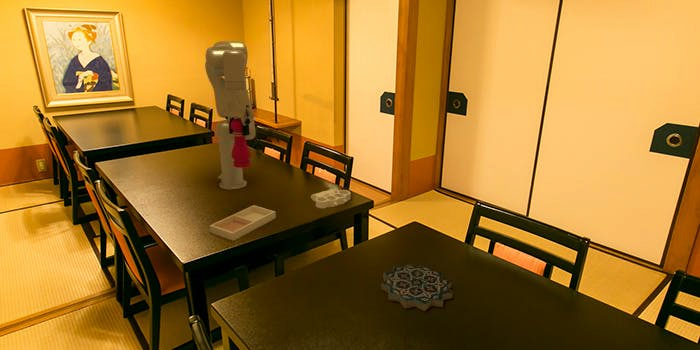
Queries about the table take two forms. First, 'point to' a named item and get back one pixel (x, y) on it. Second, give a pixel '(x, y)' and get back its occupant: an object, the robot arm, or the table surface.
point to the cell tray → (242, 222)
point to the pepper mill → (239, 146)
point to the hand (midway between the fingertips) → (239, 133)
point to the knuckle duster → (331, 198)
